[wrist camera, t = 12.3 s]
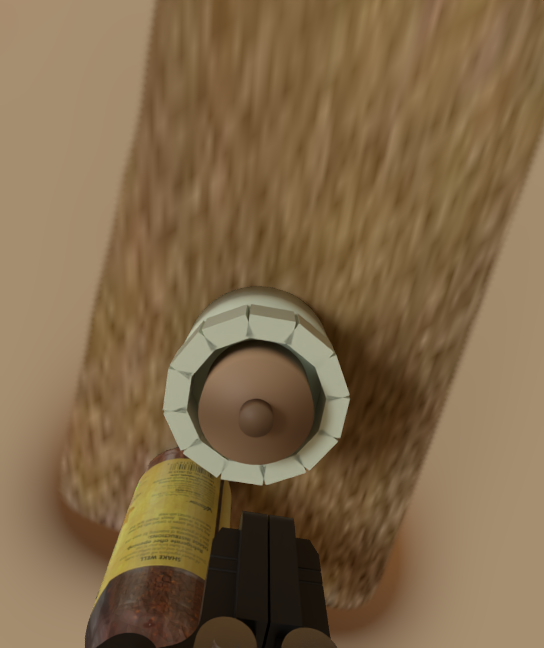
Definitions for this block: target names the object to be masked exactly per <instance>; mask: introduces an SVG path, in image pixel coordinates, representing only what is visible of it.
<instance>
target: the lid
mask: <svg viewBox="0 0 544 648" xmlns="http://www.w3.org/2000/svg"><path fill="white" fill-rule="evenodd" d="M198 417H199V423H200V427H201V429H202V432H203V434H204V436H205V438H206V439H207V441H208V442H209V443H210V445H211V446H212V447H213V448H214V449H215V450H217V451H218V452H219V453H220V454H222V455H223V456H225V457H227V458H229V459H231V460H233V461H236V462H239V463H243V464H249V465H263V464H270V463H274V462H277V461H279V460H282V459H284V458H286V457H288V456H289V455H291V454H292V453H294V452H295V451H296V450H297V449H298V448H299V447H300V446H301V445H302V444H303V443H304V441H305V440H306V438H307V437H308V435H309V433H310V431H311V428H312V424H313V419H314V406H313V400H312V396H311V391H310V386H309V382H308V378H307V374H306V371H305V369H304V367H303V365H302V363H301V362H300V360H299V359H298V358H297V357H296V356H295V355H294V354H293V353H292V352H291V351H290V350H288V349H287V348H285V347H284V346H282V345H280V344H277V343H275V342H271V341H266V340H247V341H243V342H239V343H237V344H234V345H232V346H231V347H229V348H227V349H226V350H224V351H223V352H222V353H221V354H220V355H219V356H218V357H217V358H216V359H215V361H214V362H213V364H212V365H211V367H210V369H209V372H208V374H207V378H206V381H205V384H204V388H203V391H202V394H201V398H200V402H199V408H198Z"/></svg>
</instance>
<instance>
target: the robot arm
mask: <svg viewBox="0 0 544 648" xmlns="http://www.w3.org/2000/svg"><path fill="white" fill-rule="evenodd" d="M320 571H321V569H320V562H319V555H318V553H317V551H316V550H315V548H314V546H313V545H312V543H311V542H310V540H307V539H300V538H295V526H294V519H293V518H287V517H281V516H274V515H268V518H267V515H266V514H260V513H253V512H246V511H242V514H241V519H240V524H239V529H231V528H224V527H222V528H221V529H220V530H219V532H218V533H217V534H216V536H215V537H214V538H213V540H212V546H211V551H210V556H209V562H208V567H207V573H206V578H205V584H204V591H203V597H202V604H201V611H200V617H199V624H198V627H197V628H196V630H195V631H194V632H193V633H192V635H190V636H189V637H188V638H187V639H185V640H183V641H182V642H179V643H177V644H174V645H170V646H165V647H160V648H337V646H336V645H335V643H334V642H333V641H332V640H331V638H330V633H329V626H328V619H327V612H326V605H325V598H324V590H323V586H322V576H321V573H320ZM96 648H156V646H155V645H154V644H153V642H152V641H151V640H150V639H148V638H147V637H145V636H143V635H140V634H137V633H121V634H118V635H115V636H113V637H110V638H109V639H107V640H106V641H104V642H103V643H101V644H100V645H99V646H97V647H96Z"/></svg>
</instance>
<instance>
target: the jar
mask: <svg viewBox="0 0 544 648" xmlns="http://www.w3.org/2000/svg"><path fill="white" fill-rule="evenodd" d="M247 340H266V341H271V342H275V343H277V344H280V345H282V346H284V347H285V348H287V349H288V350H290V351H291V352H292V353H293V354H294V355H295V356H296V357H297V358H298V359H299V360H300V362H301V363H302V365H303V367H304V369H305V371H306V374H307V378H308V382H309V386H310V391H311V396H312V400H313V406H314V419H313V424H312V428H311V431H310V433H309V435H308V437H307V438H306V440H305V441H304V443H303V444H302V445H301V446H300V447H299V448H298V449H297V450H296V451H295V452H294V453H292V454H291V455H289V456H288V457H286V458H284V459H282V460H279V461H277V462H274V463H270V464H263V465H249V464H243V463H239V462H236V461H233V460H231V459H229V458H227V457H225V456H223V455H222V454H220V453H219V452H218V451H217V450H215V449H214V448H213V447H212V446H211V445H210V443H209V442H208V441H207V439H206V438H205V436H204V434H203V432H202V429H201V427H200V423H199V417H198V408H199V402H200V398H201V394H202V391H203V388H204V384H205V381H206V378H207V374H208V372H209V369H210V367H211V365H212V364H213V362H214V361H215V359H216V358H217V357H218V356H219V355H220V354H221V353H222V352H223V351H224V350H226V349H227V348H229V347H231V346H232V345H234V344H237V343H239V342H243V341H247ZM349 395H350V394H349V391H348V388H347V385H346V382H345V379H344V376H343V373H342V370H341V367H340V365H339V362H338V359H337V356H336V353H335V351H334V348H333V346H332V344H331V343H330V341H329V339H328V337H327V335H326V332H325V330H324V327H323V325H322V323H321V322H320V320H319V318H318V317H317V315H316V314H315V313H314V312H313V310H312V309H311V308H310V307H309V306H308V305H307V304H306V303H304V302H303V301H301V300H300V299H299V298H297V297H295V296H294V295H292V294H290V293H288V292H285V291H282V290H279V289H275V288H271V287H262V286H255V287H245V288H240V289H237V290H233V291H231V292H229V293H226V294H224V295H222V296H221V297H219V298H217V299H216V300H214V301H213V302H212V303H211V304H209V305H208V306H207V307H206V308H205V309H204V310H203V311H202V313H201V314H200V316H199V317H198V318H197V320H196V322H195V324H194V325H193V327H192V329H191V331H190V333H189V335H188V337H187V339H186V341H185V343H184V344H183V345H182V347H181V348H180V349H179V350H178V351H177V353H176V355H175V357H174V359H173V361H172V363H171V364H170V367H169V369H168V376H167V383H166V391H165V398H164V406H163V410H165V411H164V416H165V418H166V420H167V422H168V424H169V427H170V429H171V431H172V433H173V435H174V437H175V440H176V442H177V444H178V446H179V448H180V450H184V452H183V454H184V455H186V456H187V457H189V458H190V459H191V460H193V461H194V462H196V463H197V464H198V465H200V466H201V467H203V468H204V469H205V470H207V471H208V472H210V473H211V474H212V475H214V476H215V477H218V476H219V475H220V474H221V479H223V480H229V481H236V482H242V483H249V484H255V485H262V484H263V480H264V481H265V484H266V485H268V484H272V483H275V482H278V481H281V480H284V479H287V478H291V477H294V476H297V475H300V474H303V473H306V468H307V469H308V470H309V471H310V470H311V469H312V468H313V467H314V466H315V465H316V464H317V462H318V461H319V460H320V459H321V458H322V457H323V456H324V455H325V454H326V453H327V452H328V451H329V450H330V449H331V448H332V447H333V446H334V445H335V444H336V443H337V442H338V439H337V438H340V437H341V433H342V429H343V425H344V421H345V417H346V413H347V409H348V405H349V401H350V398H349Z"/></svg>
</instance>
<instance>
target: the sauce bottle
mask: <svg viewBox="0 0 544 648" xmlns="http://www.w3.org/2000/svg"><path fill="white" fill-rule="evenodd" d="M183 452H184V450H180V448H179V447H177V448H174V449H170V450H167V451H165V452H164V453H161V454H159V455H158V456H157V457H155V458H154V459H153V460H152V461H151V462H150V464H149V466H148V468H147V470H146V472H145V474H144V475H143V476H142V477H141V479H140V480H139V483H138V485H137V487H136V490H135V493H134V496H133V498H132V501H131V504H130V506H129V509H128V512H127V514H126V517H125V520H124V523H123V526H122V529H121V531H120V534H119V537H118V539H117V542H116V545H115V548H114V550H113V554H112V557H111V559H110V562H109V565H108V567H107V569H106V573H105V576H104V579H103V582H102V584H101V587H100V590H99V592H98V595H97V597H96V601H95V604H94V607H93V610H92V613H91V615H90V619H89V622H88V625H87V630H86V635H85V648H96V647H97V646H99V645H100V644H101V643H103V642H104V641H106V640H107V639H109V638H110V637H113V636H115V635H118V634H121V633H137V634H140V635H143V636H145V637H147V638H148V639H150V640H151V641H152V642H153V644H154V645H155V646H156V648H160V647H165V646H170V645H174V644H177V643H179V642H182V641H183V640H185V639H187V638H188V637H189V636H190V635H192V633H193V632H194V631H195V630H196V628H197V627H198V624H199V617H200V611H201V604H202V597H203V591H204V584H205V578H206V573H207V567H208V562H209V556H210V551H211V546H212V540H213V538H214V537H215V536H216V534H217V533H218V532H219V530H220V529H221V528H222V527H224V528H230V518H231V501H232V496H231V489H230V482H229V480H223V479H221V474H220V475H219V476H218V477H215V476H214V475H212V474H211V473H210V472H208V471H207V470H205V469H204V468H203V467H201V466H200V465H198V464H197V463H196V462H194V461H193V460H191V459H190V458H189V457H187V456H186V455H184V454H183Z"/></svg>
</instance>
